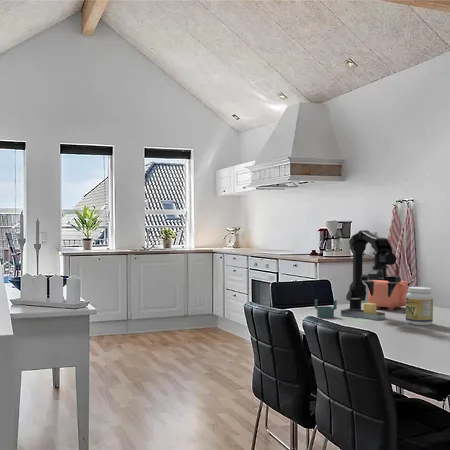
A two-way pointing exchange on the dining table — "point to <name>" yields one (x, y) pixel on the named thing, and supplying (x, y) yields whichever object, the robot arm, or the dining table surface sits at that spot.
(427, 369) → the dining table surface
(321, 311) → the bracket
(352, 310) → the rail
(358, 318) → the pad
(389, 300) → the teapot
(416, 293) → the supplement tub
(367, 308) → the block
